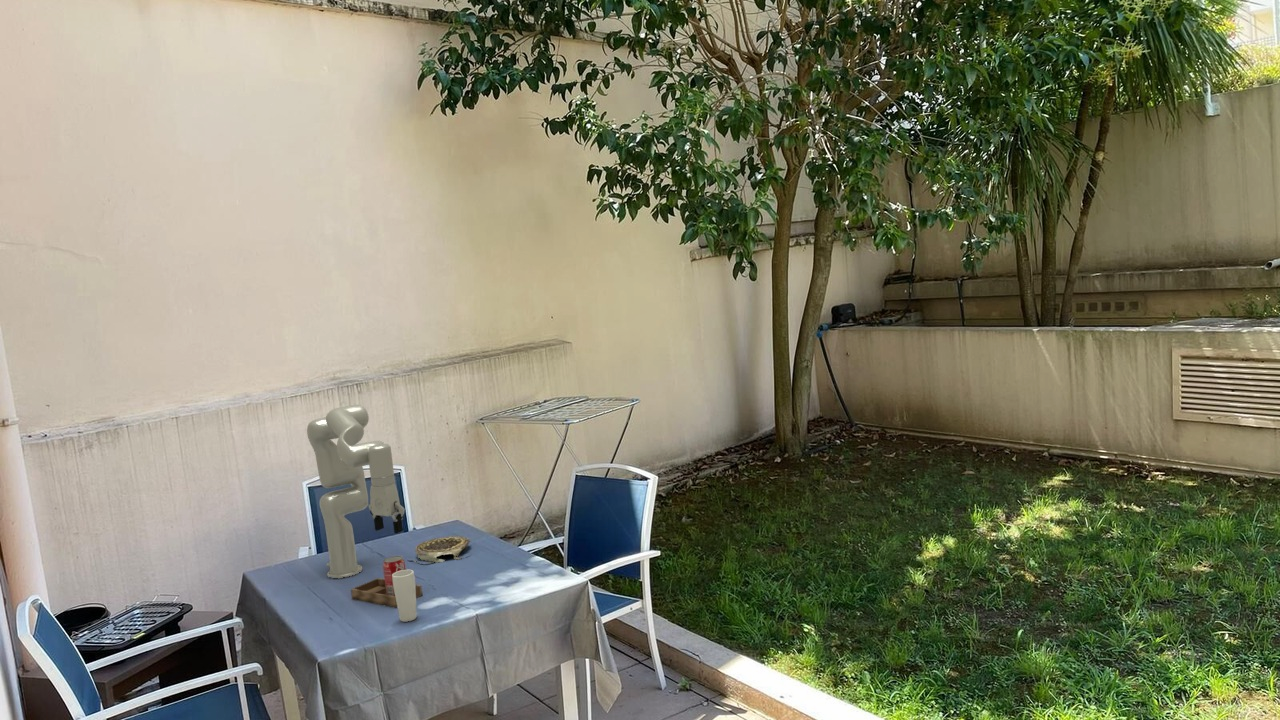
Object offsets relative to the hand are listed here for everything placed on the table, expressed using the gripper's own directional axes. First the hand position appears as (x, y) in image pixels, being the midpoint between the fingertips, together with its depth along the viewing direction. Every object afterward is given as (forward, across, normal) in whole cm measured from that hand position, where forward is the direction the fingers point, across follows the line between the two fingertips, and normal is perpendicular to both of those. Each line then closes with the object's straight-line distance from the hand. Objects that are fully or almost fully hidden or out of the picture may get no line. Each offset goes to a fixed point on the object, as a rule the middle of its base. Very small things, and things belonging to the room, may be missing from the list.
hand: (389, 530), depth 288 cm
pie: (+25, -22, +42) cm, 54 cm away
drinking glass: (+24, +19, -12) cm, 33 cm away
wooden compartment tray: (+24, -4, -1) cm, 24 cm away
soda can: (+22, +1, -1) cm, 23 cm away
